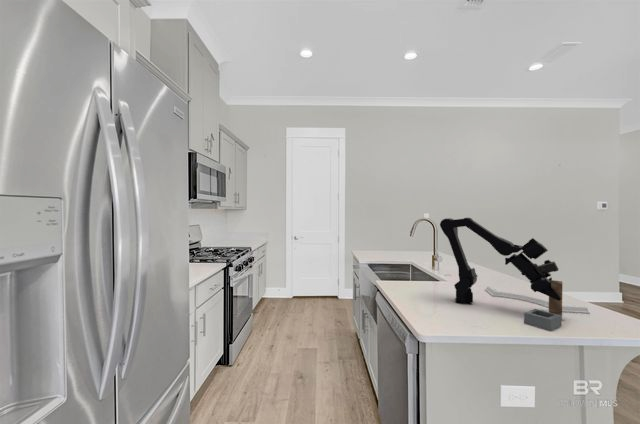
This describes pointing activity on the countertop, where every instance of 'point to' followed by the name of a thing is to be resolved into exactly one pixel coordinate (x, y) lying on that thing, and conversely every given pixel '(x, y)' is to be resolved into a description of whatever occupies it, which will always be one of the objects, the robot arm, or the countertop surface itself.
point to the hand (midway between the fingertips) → (560, 298)
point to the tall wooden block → (554, 304)
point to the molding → (535, 301)
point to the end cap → (543, 319)
